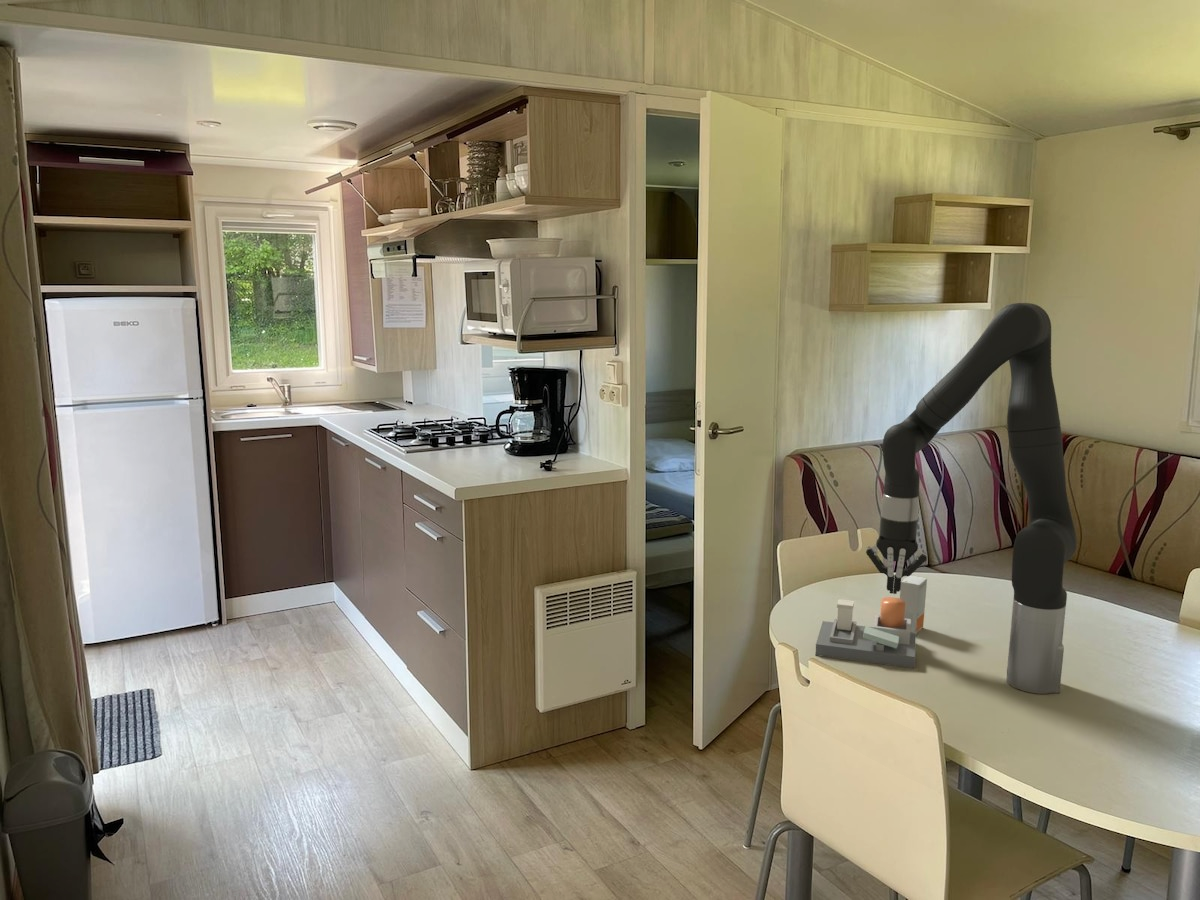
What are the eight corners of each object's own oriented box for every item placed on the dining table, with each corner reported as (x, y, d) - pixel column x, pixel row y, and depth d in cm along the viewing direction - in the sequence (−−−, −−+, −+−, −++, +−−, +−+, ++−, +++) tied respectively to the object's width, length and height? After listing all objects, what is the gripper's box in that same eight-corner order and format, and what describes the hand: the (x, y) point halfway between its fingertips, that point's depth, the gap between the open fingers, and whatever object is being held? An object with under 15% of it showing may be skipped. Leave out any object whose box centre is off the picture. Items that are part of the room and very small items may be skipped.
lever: (852, 625, 200) (854, 600, 199) (851, 631, 197) (853, 606, 196) (837, 623, 201) (838, 599, 200) (835, 629, 198) (837, 604, 197)
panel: (914, 643, 197) (916, 619, 196) (914, 668, 184) (916, 643, 183) (822, 631, 204) (823, 608, 203) (815, 655, 191) (816, 630, 190)
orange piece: (904, 620, 196) (905, 598, 195) (903, 628, 191) (905, 606, 190) (880, 617, 197) (881, 596, 196) (879, 625, 193) (880, 603, 192)
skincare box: (915, 635, 201) (919, 585, 199) (896, 631, 204) (900, 581, 202) (924, 627, 206) (927, 578, 204) (905, 623, 209) (909, 574, 206)
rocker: (897, 641, 190) (898, 636, 189) (896, 648, 186) (898, 643, 186) (864, 630, 192) (865, 625, 191) (862, 637, 188) (864, 632, 188)
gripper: (865, 516, 188) (860, 594, 192) (932, 522, 184) (925, 602, 187) (867, 508, 195) (862, 583, 199) (932, 513, 191) (925, 590, 194)
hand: (893, 592), depth 193 cm, fingers closed
